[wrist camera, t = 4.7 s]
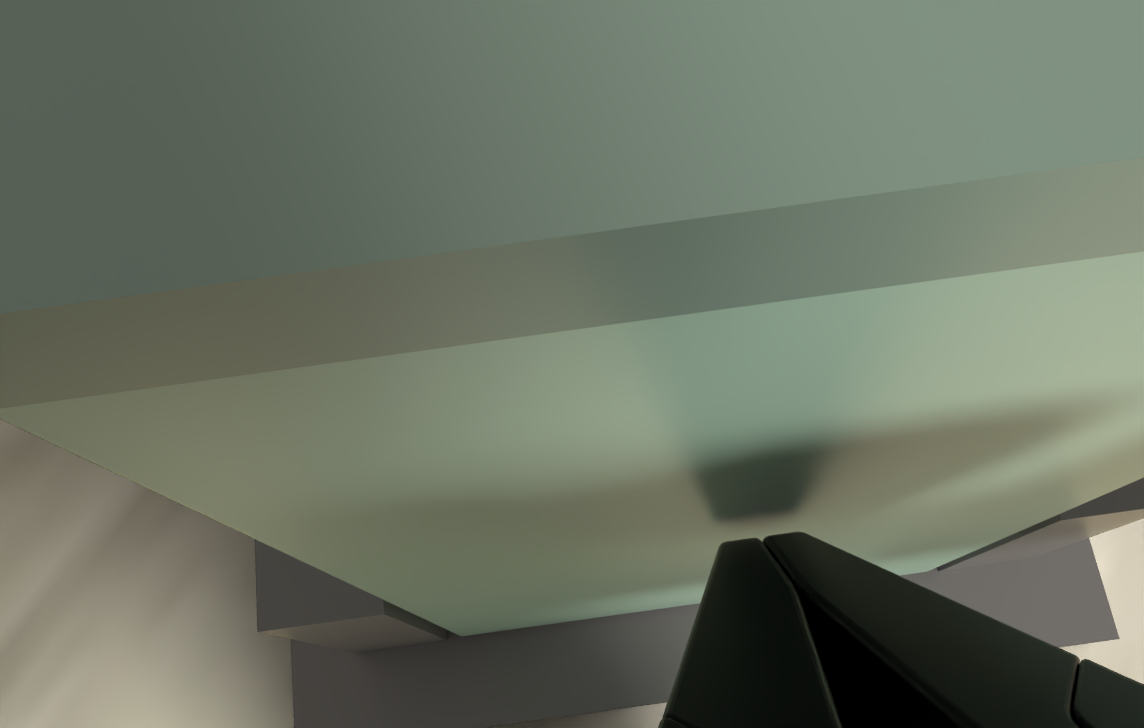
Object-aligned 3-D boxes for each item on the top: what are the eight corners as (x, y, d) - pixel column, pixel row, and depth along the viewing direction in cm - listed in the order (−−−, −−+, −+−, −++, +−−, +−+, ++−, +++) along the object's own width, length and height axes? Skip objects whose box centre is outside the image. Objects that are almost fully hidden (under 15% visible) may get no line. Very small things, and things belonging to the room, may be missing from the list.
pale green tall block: (933, 576, 17) (2372, -10, 3) (456, 643, 17) (-260, 347, 3) (864, 297, 19) (1591, -888, 5) (430, 357, 19) (-105, -668, 5)
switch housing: (1092, 642, 18) (1363, 605, 11) (312, 751, 18) (140, 775, 11) (873, -105, 23) (972, -414, 17) (278, -25, 23) (151, -303, 17)
